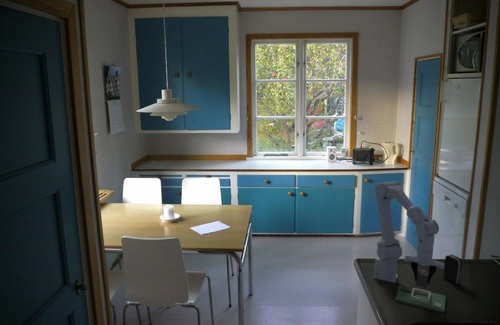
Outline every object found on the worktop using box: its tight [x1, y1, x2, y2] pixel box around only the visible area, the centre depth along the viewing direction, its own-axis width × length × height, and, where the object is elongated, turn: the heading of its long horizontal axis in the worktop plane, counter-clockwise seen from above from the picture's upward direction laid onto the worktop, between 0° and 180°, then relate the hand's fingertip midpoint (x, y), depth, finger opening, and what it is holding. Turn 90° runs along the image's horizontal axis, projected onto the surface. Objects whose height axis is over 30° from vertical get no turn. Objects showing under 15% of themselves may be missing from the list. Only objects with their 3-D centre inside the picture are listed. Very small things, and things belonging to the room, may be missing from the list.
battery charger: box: [443, 254, 464, 284], centre depth 176 cm, size 7×4×11 cm, turn 23°
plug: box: [415, 269, 429, 289], centre depth 160 cm, size 4×5×5 cm
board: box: [394, 285, 447, 314], centre depth 161 cm, size 18×12×2 cm, turn 62°
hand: (422, 281), depth 159 cm, fingers closed on plug, 4 cm apart
